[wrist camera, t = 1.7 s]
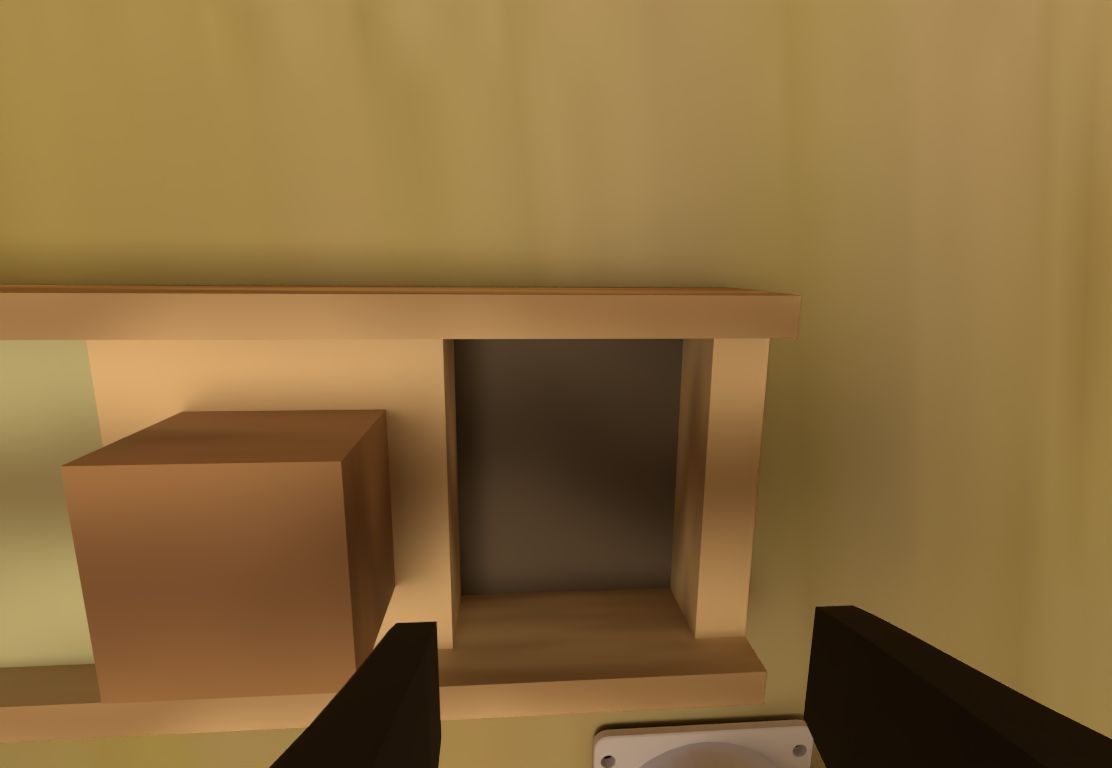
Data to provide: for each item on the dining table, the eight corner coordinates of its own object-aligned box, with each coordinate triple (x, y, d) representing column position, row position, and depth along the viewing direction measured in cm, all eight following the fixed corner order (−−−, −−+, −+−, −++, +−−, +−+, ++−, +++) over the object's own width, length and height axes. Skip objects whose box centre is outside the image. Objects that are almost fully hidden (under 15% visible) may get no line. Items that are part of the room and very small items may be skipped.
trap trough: (709, 607, 20) (763, 703, 16) (-439, 651, 17) (-759, 781, 13) (730, 287, 18) (801, 295, 14) (-583, 281, 15) (-1024, 289, 11)
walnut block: (395, 586, 16) (357, 692, 12) (205, 592, 15) (101, 703, 12) (385, 409, 15) (341, 461, 11) (182, 411, 14) (60, 466, 11)
